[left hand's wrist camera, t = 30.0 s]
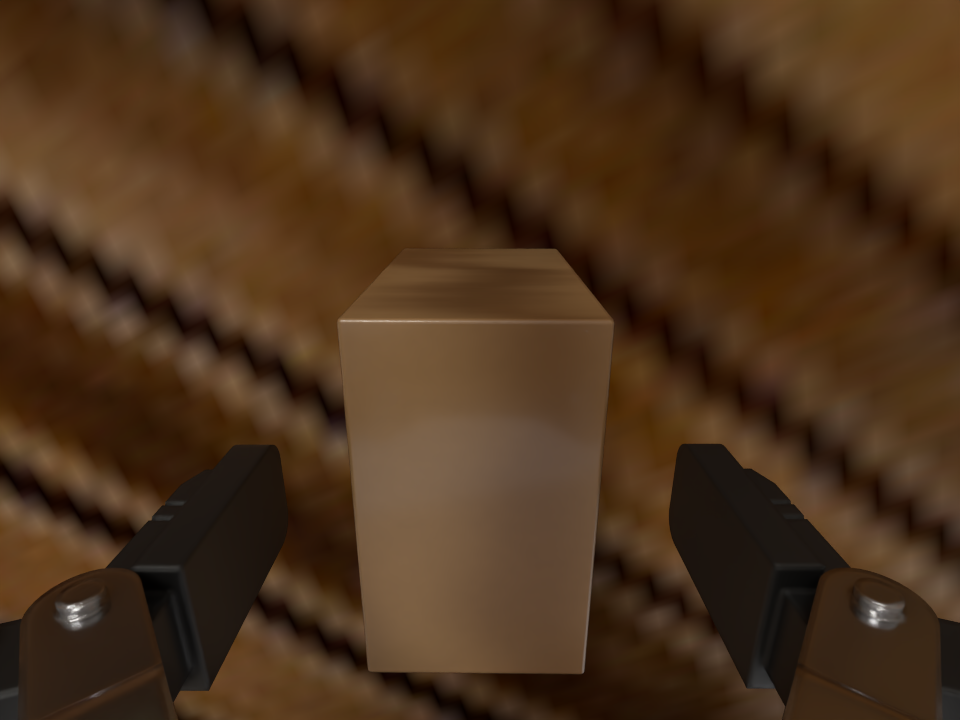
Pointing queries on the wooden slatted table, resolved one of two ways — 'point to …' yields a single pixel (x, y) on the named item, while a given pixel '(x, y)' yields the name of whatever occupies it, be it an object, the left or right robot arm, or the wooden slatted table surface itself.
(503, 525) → the block
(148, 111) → the wooden slatted table surface
